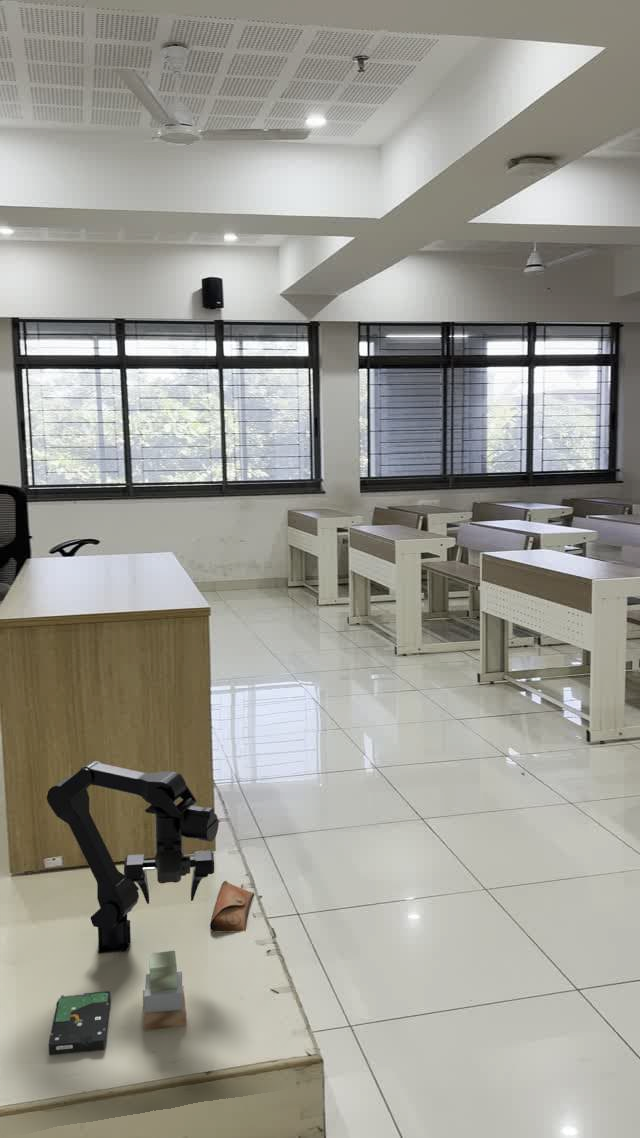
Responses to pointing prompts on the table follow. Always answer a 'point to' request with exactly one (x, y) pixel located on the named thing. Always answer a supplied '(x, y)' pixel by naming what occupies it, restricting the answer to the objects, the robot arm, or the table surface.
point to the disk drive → (80, 1023)
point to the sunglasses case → (231, 908)
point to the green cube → (163, 971)
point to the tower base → (164, 1017)
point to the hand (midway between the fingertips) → (170, 901)
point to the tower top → (163, 997)
